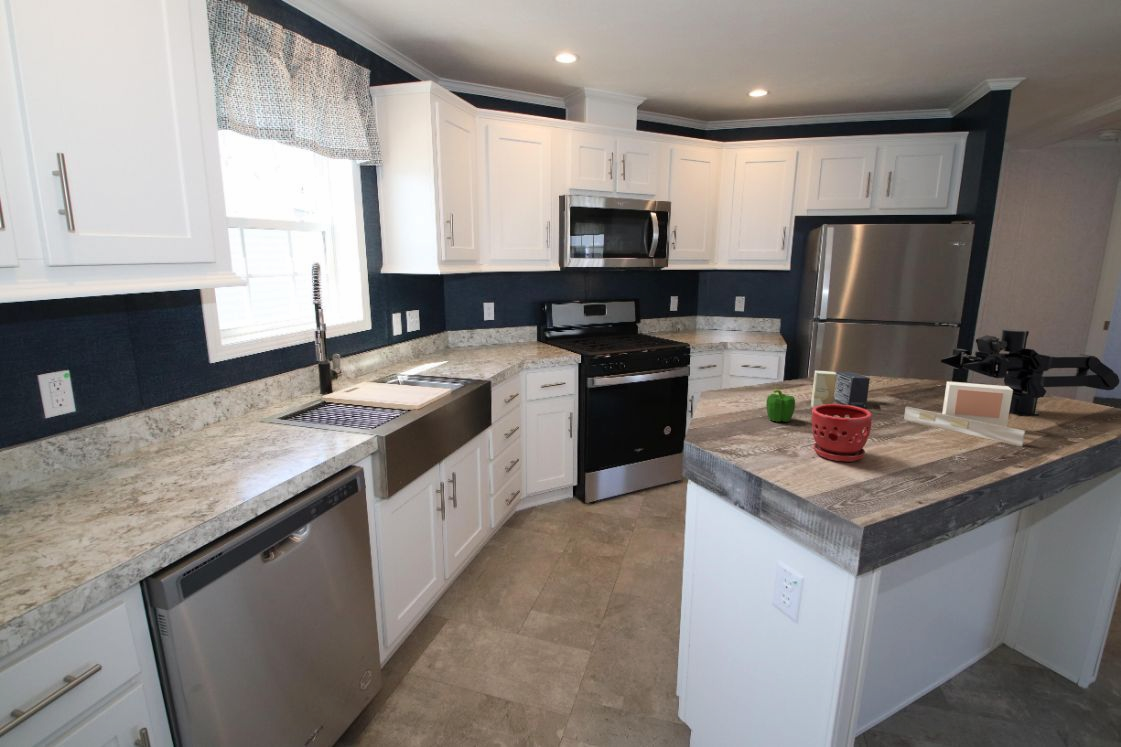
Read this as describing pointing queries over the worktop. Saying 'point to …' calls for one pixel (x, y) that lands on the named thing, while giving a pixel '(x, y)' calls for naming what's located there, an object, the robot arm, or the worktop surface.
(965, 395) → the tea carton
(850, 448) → the plant pot
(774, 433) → the worktop surface
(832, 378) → the skincare box
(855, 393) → the small box
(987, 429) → the shelf board
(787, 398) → the bell pepper
